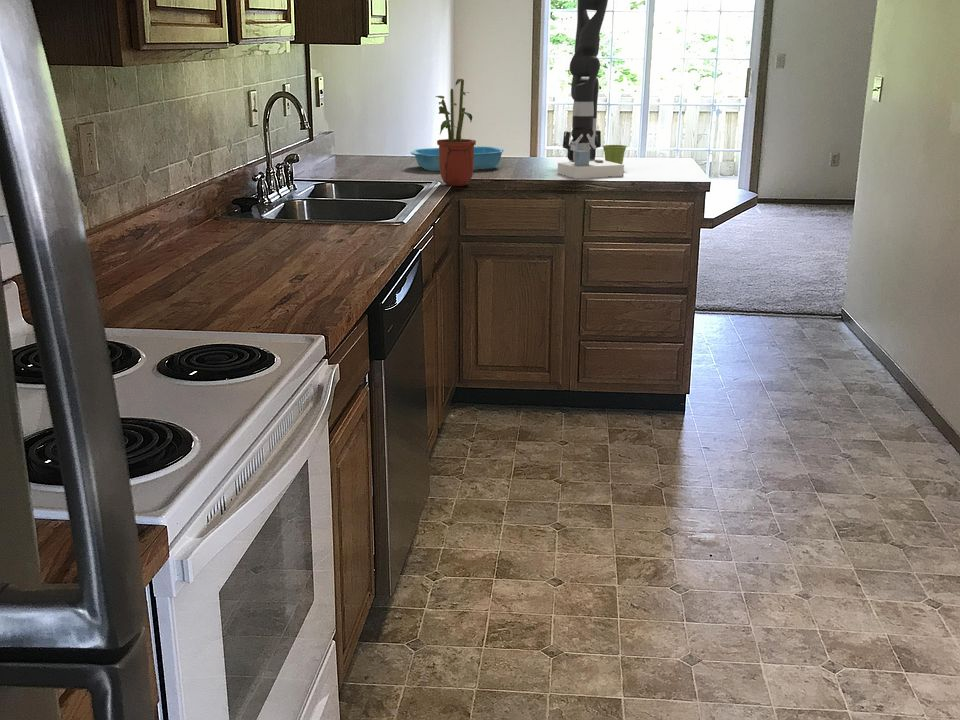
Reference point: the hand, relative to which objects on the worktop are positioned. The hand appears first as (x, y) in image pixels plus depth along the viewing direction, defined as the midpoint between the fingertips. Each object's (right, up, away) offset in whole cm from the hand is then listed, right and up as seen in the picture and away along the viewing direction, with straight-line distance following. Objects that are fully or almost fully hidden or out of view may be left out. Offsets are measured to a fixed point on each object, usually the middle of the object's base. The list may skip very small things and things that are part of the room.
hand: (581, 160), depth 351 cm
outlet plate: (+4, -4, +5) cm, 8 cm away
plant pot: (+15, +1, +23) cm, 27 cm away
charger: (0, -5, +2) cm, 6 cm away
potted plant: (-47, -13, -21) cm, 54 cm away
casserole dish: (-46, +2, +24) cm, 51 cm away
